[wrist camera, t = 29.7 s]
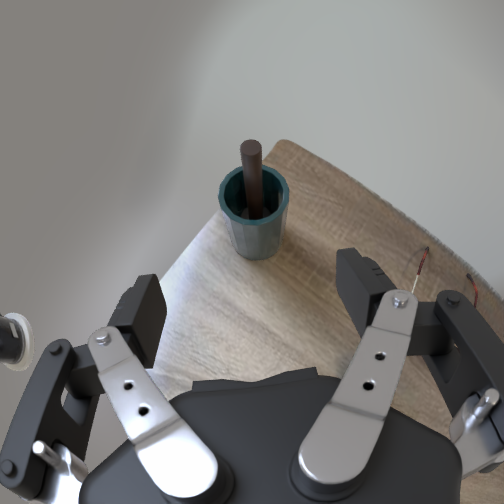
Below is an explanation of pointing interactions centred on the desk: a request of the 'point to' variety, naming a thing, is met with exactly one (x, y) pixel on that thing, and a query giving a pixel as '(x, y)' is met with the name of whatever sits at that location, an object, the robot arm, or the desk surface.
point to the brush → (253, 180)
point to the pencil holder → (255, 231)
